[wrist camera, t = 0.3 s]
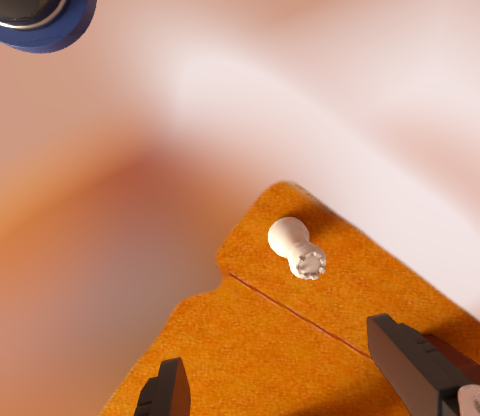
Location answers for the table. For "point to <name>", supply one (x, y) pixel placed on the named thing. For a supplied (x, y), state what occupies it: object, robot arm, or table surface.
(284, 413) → the table surface
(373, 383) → the table surface
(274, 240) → the rook chess piece
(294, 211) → the table surface
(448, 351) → the muffin
